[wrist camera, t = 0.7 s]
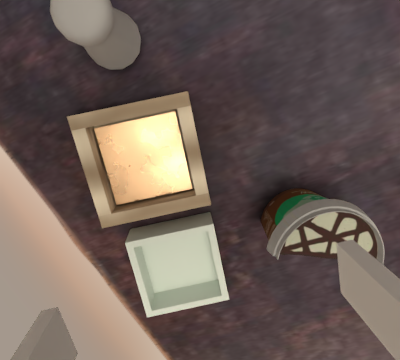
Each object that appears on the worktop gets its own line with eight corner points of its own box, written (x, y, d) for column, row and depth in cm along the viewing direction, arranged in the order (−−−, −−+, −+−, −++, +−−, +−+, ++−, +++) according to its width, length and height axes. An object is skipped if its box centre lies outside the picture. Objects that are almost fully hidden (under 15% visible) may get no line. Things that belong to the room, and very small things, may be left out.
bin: (130, 228, 38) (124, 242, 34) (210, 211, 38) (213, 223, 34) (150, 297, 41) (147, 317, 37) (224, 281, 41) (229, 299, 37)
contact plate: (95, 128, 34) (93, 128, 33) (175, 111, 34) (175, 111, 33) (117, 203, 36) (116, 204, 36) (192, 187, 36) (192, 188, 36)
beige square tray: (77, 115, 34) (66, 116, 31) (187, 92, 34) (187, 91, 31) (109, 216, 38) (102, 228, 34) (208, 195, 38) (211, 204, 34)
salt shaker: (141, 15, 32) (116, -42, 19) (146, 70, 34) (125, 51, 21) (86, 16, 32) (25, -40, 19) (94, 73, 33) (41, 55, 21)
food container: (348, 183, 39) (403, 210, 29) (337, 226, 40) (387, 265, 30) (256, 175, 38) (282, 200, 28) (249, 220, 39) (272, 259, 29)
